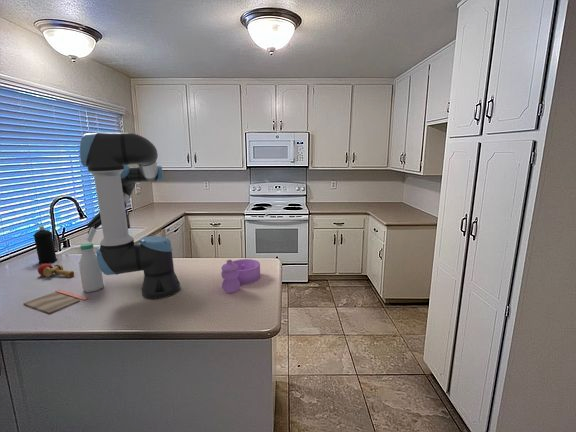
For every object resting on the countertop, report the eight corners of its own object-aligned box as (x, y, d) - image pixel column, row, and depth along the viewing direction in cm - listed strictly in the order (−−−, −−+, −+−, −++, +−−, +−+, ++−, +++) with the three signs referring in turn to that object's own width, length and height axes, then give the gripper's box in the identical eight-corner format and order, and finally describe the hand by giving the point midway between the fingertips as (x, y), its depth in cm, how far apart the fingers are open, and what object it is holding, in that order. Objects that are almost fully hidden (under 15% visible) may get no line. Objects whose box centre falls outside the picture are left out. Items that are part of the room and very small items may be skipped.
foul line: (87, 299, 128) (87, 298, 127) (84, 300, 126) (84, 299, 126) (59, 290, 136) (59, 289, 136) (55, 291, 135) (55, 291, 135)
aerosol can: (49, 264, 170) (43, 228, 166) (34, 264, 170) (27, 228, 166) (60, 259, 178) (54, 224, 174) (46, 259, 178) (39, 224, 174)
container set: (235, 270, 154) (233, 244, 152) (264, 273, 151) (263, 246, 148) (210, 292, 131) (208, 262, 128) (244, 296, 127) (243, 265, 124)
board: (80, 301, 126) (79, 299, 126) (49, 314, 116) (49, 312, 116) (54, 293, 134) (54, 292, 134) (23, 304, 124) (23, 303, 124)
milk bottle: (107, 287, 139) (100, 243, 135) (88, 293, 132) (81, 248, 128) (98, 283, 143) (91, 240, 139) (79, 289, 137) (72, 245, 132)
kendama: (80, 275, 156) (49, 269, 159) (77, 265, 154) (46, 258, 157) (66, 284, 149) (34, 277, 152) (64, 273, 147) (31, 266, 150)
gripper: (146, 207, 156) (132, 245, 145) (99, 207, 159) (82, 244, 148) (138, 198, 150) (123, 237, 139) (90, 198, 153) (71, 236, 142)
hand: (102, 241), depth 143 cm, fingers open, 13 cm apart
